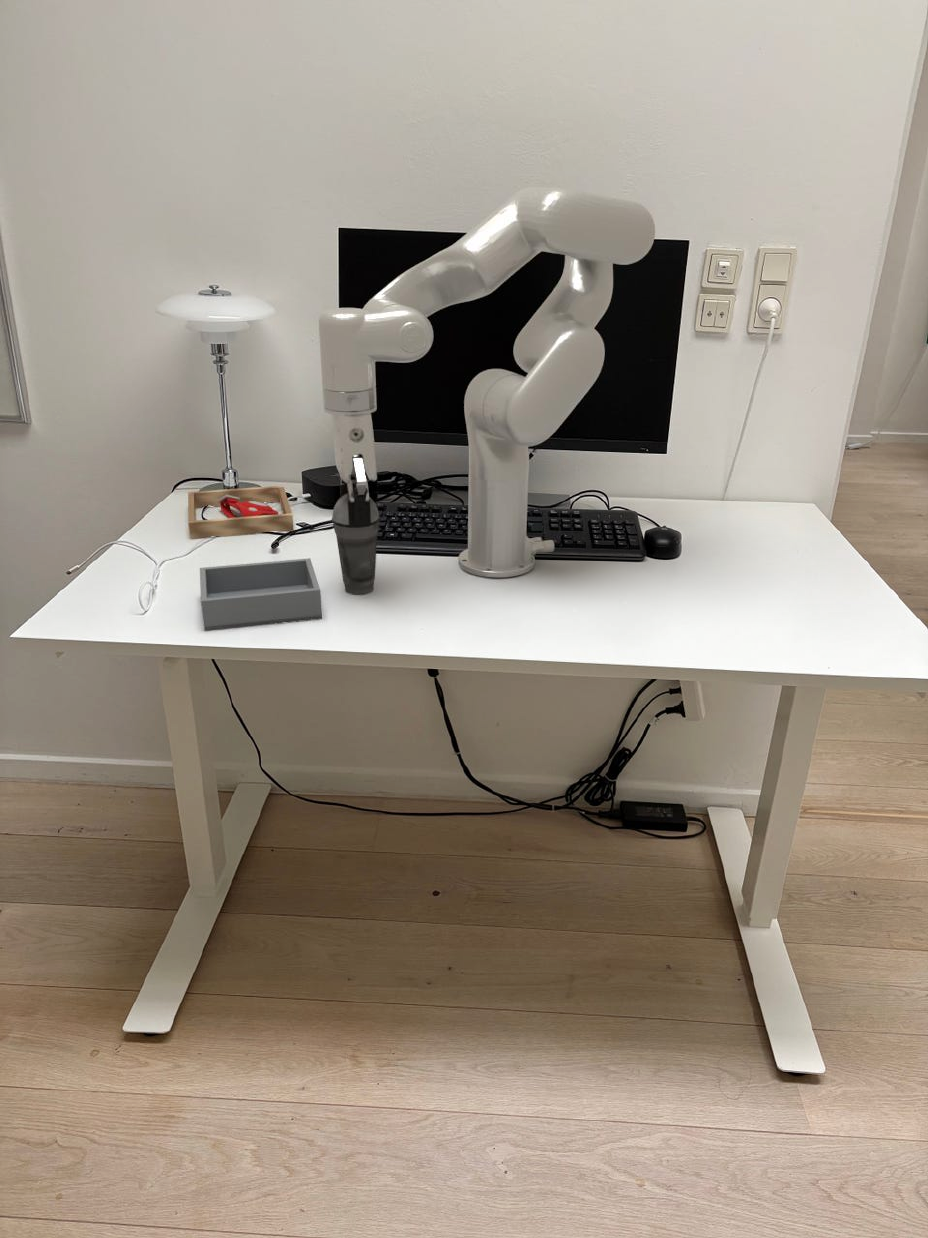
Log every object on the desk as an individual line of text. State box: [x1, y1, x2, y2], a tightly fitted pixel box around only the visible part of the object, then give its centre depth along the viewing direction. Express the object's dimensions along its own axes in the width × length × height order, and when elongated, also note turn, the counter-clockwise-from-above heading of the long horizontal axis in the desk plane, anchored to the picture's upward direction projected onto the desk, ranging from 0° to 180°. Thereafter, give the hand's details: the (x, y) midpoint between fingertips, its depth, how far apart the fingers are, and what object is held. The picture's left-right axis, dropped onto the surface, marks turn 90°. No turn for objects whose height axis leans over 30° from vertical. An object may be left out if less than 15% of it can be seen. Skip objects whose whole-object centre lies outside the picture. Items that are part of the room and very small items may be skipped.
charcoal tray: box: [199, 558, 323, 632], centre depth 142 cm, size 17×13×5 cm
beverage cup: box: [331, 484, 381, 596], centre depth 145 cm, size 7×7×20 cm
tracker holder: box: [218, 495, 279, 518], centre depth 178 cm, size 12×4×10 cm
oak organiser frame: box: [187, 485, 295, 540], centre depth 178 cm, size 18×18×3 cm
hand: (355, 516), depth 144 cm, fingers closed on beverage cup, 7 cm apart
